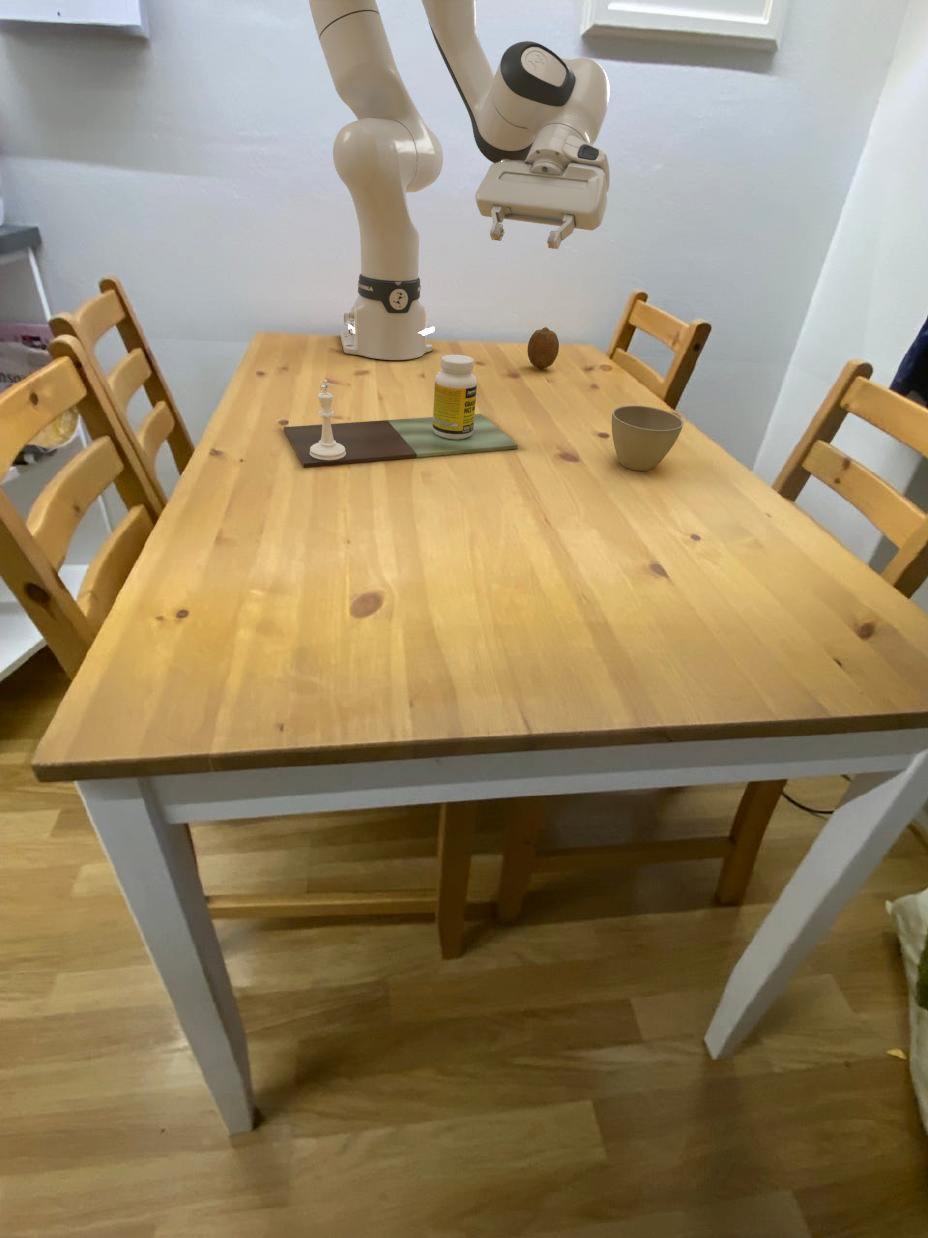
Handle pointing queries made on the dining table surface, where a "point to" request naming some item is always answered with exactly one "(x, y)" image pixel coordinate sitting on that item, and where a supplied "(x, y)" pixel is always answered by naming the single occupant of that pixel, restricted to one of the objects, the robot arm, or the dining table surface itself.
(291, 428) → the mat
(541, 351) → the fruit
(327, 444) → the chess piece
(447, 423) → the pill bottle
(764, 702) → the dining table surface
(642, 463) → the flower pot
